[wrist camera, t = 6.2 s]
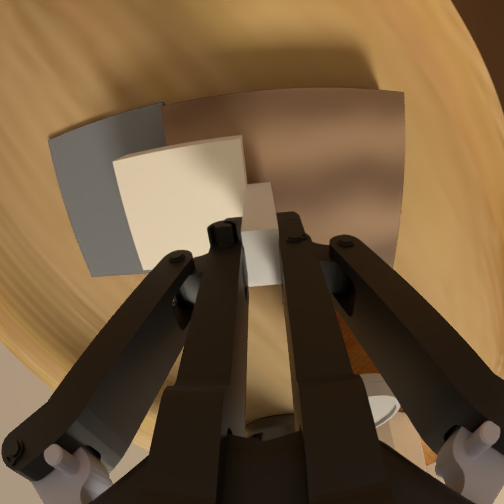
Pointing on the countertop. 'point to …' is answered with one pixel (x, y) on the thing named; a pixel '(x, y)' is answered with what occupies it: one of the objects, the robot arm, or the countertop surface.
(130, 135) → the rubber mat
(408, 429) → the milk
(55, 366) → the countertop surface
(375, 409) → the disposable coffee cup
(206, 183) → the coaster
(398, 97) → the walnut board
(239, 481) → the robot arm
